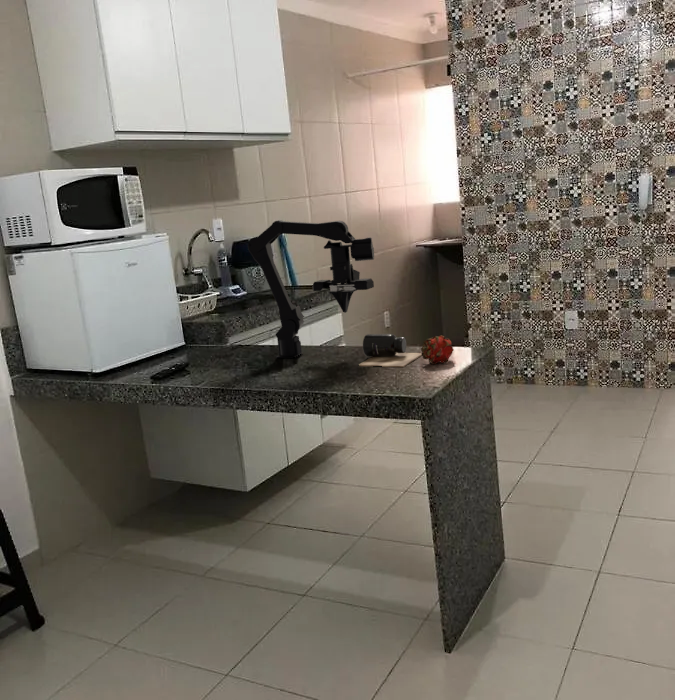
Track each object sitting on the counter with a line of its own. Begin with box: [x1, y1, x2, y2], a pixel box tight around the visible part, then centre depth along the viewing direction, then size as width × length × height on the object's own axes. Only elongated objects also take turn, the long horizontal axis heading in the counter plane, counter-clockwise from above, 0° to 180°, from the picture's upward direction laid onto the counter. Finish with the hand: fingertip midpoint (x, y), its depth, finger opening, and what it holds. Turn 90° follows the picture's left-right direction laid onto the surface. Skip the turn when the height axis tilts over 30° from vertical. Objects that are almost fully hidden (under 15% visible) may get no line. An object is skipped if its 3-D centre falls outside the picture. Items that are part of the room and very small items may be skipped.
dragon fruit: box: [420, 334, 454, 365], centre depth 211 cm, size 8×8×12 cm
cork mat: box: [358, 352, 423, 368], centre depth 220 cm, size 14×16×1 cm
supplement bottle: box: [362, 333, 407, 358], centre depth 223 cm, size 7×7×12 cm
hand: (345, 312), depth 233 cm, fingers closed
